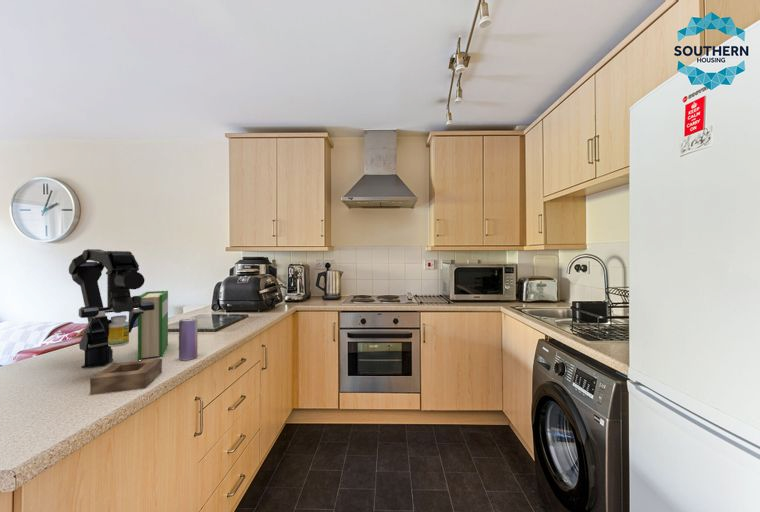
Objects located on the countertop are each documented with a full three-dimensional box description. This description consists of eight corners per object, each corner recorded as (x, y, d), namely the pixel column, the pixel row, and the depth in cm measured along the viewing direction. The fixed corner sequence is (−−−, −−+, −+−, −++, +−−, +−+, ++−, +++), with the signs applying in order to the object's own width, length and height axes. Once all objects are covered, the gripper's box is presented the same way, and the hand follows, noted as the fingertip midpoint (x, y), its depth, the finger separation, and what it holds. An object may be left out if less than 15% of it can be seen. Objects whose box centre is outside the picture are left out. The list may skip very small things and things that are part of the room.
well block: (90, 394, 84) (90, 378, 84) (114, 376, 96) (114, 362, 96) (145, 388, 88) (145, 372, 88) (161, 371, 101) (161, 358, 101)
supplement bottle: (111, 343, 102) (111, 315, 102) (131, 341, 105) (131, 314, 105) (105, 348, 98) (105, 318, 98) (126, 345, 100) (126, 317, 100)
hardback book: (162, 357, 115) (162, 295, 115) (137, 360, 111) (137, 296, 111) (167, 345, 130) (168, 290, 130) (146, 348, 127) (146, 291, 127)
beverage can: (188, 361, 111) (188, 320, 111) (174, 360, 112) (175, 320, 112) (201, 356, 117) (201, 317, 117) (188, 355, 118) (188, 317, 118)
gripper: (84, 292, 89) (84, 345, 89) (159, 287, 104) (159, 332, 104) (78, 289, 96) (78, 338, 96) (149, 285, 110) (149, 327, 110)
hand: (118, 334), depth 101 cm, fingers closed on supplement bottle, 5 cm apart
